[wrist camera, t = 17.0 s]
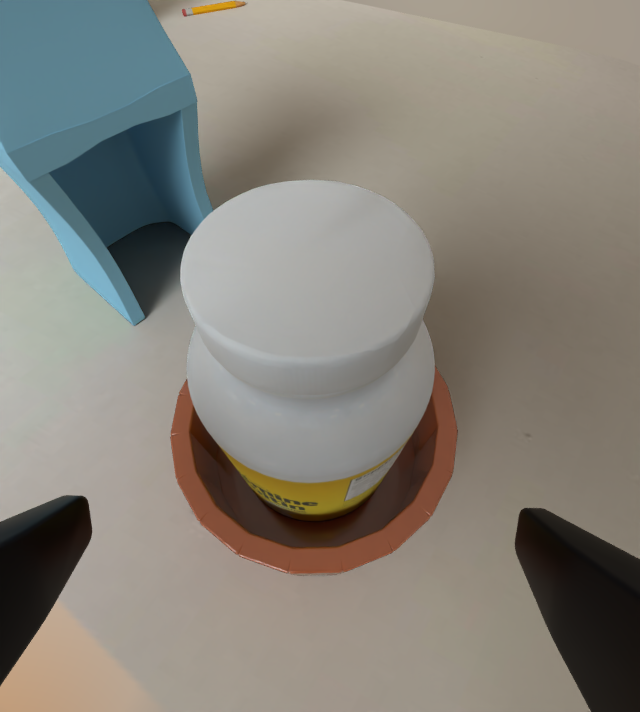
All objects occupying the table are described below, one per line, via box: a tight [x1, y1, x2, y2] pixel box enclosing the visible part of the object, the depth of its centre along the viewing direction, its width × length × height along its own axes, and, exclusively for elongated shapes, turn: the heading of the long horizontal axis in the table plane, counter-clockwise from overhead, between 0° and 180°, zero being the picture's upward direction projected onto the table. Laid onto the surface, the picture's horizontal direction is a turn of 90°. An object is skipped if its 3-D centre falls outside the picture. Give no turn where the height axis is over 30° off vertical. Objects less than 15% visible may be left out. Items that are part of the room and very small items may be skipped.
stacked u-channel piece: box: [0, 0, 213, 326], centre depth 15 cm, size 8×8×20 cm
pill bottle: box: [180, 180, 435, 523], centre depth 12 cm, size 6×6×12 cm
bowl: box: [170, 366, 458, 576], centre depth 15 cm, size 10×10×4 cm
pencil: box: [182, 1, 247, 16], centre depth 47 cm, size 1×8×1 cm, turn 116°
